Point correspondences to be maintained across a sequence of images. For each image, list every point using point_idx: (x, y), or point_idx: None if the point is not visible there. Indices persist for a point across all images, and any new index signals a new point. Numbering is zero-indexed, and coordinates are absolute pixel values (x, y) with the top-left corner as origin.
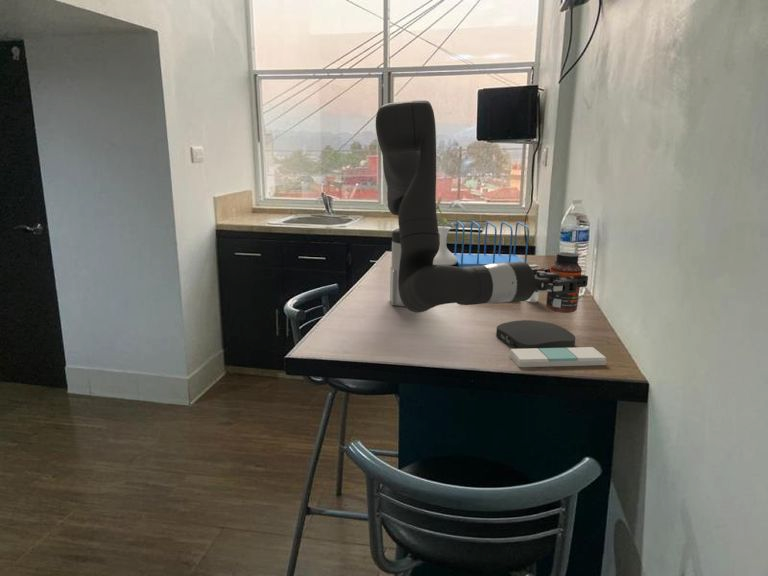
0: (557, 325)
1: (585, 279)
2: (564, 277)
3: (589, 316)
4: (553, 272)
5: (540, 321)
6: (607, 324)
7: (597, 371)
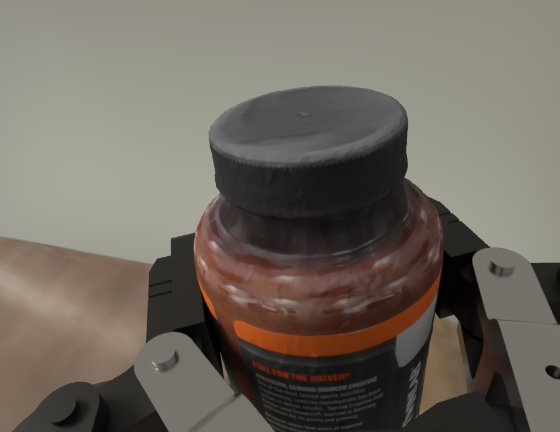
0: (95, 386)
1: (440, 208)
2: (548, 312)
3: (40, 269)
4: (364, 342)
5: (18, 426)
6: (107, 256)
7: (423, 408)
